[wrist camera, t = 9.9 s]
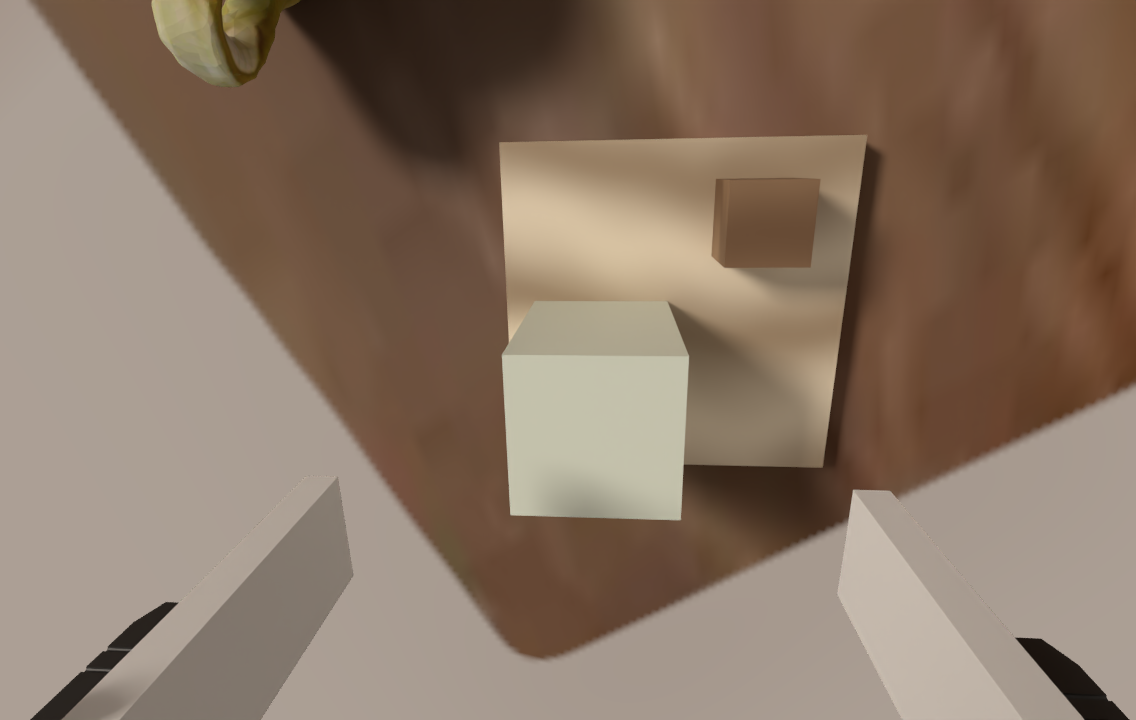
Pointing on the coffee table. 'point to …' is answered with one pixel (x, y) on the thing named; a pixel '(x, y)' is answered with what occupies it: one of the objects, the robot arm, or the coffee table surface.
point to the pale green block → (596, 410)
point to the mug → (219, 36)
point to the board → (703, 267)
